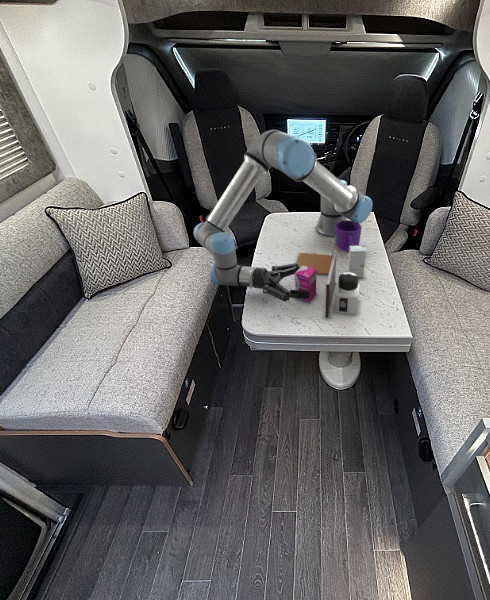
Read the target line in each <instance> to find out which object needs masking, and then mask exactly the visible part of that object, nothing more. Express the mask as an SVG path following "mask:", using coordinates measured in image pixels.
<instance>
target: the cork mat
mask: <svg viewBox="0 0 490 600" xmlns="http://www.w3.org/2000/svg"><path fill="white" fill-rule="evenodd" d="M332 258H333V255H331V254H319V253H309V252H299V255H298V257H297V260H296V263H298V265H299V267H301V266H302V265H303V266H306V267H309V268H312V269H316V275H321V276H322V275H323V276H328V275H329V271H330V266H331V262H332ZM295 271H296V270H295Z"/></svg>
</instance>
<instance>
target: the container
mask: <svg viewBox="0 0 490 600" xmlns="http://www.w3.org/2000/svg"><path fill="white" fill-rule="evenodd" d="M360 289H361V284H360V283H359V278H358V276H357V275H356V274H354V273H351V272H343V273H341V274H339V276H338V281H337V285H336V289H335V294H334V307H333V310H334V312H335V313H342V314H343V313H344V314H350V315H357V314H358V307H359V298H360Z"/></svg>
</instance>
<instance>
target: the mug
mask: <svg viewBox="0 0 490 600" xmlns="http://www.w3.org/2000/svg"><path fill="white" fill-rule="evenodd" d="M361 235H362V225H361V223H355V222H353V221H351V220H349V219H347V220H346V221H340V222H338V223H337V224H336V225H335V236H334V243H335V244H334V245H335V247H336V248H337V249H338V250H341V251H344V252H347V254H349V250H350V246H360V242H361Z"/></svg>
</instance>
